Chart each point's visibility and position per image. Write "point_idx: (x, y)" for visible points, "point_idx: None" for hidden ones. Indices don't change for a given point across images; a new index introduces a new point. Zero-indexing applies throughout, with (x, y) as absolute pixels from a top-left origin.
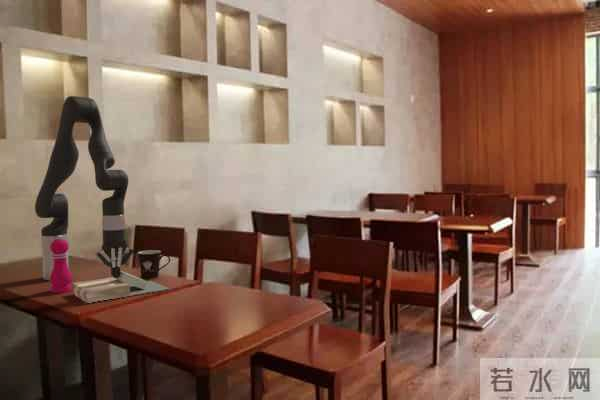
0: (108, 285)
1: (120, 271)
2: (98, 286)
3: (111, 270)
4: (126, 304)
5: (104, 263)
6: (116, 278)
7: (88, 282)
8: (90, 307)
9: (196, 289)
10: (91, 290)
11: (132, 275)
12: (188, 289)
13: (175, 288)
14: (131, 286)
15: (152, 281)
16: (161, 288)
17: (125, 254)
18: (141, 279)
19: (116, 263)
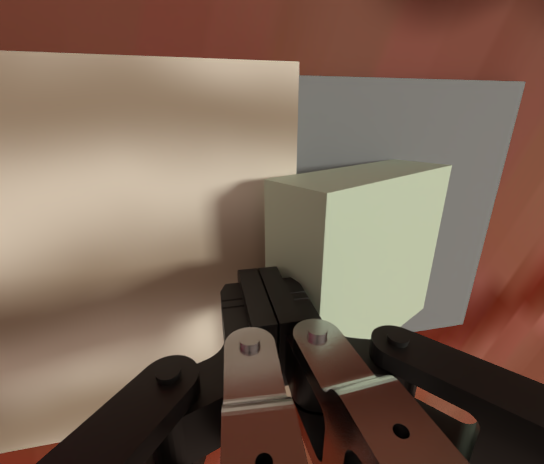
0: (169, 352)
1: (318, 297)
2: (91, 349)
3: (224, 338)
4: (215, 452)
5: (127, 407)
6: (267, 255)
7: (10, 147)
8: (47, 444)
9: (524, 355)
10: (25, 437)
11: (409, 213)
12: (508, 341)
13: (492, 300)
14: (365, 162)
15: (517, 107)
16: (443, 305)
17: (536, 454)
18: (399, 325)
19: (306, 385)
